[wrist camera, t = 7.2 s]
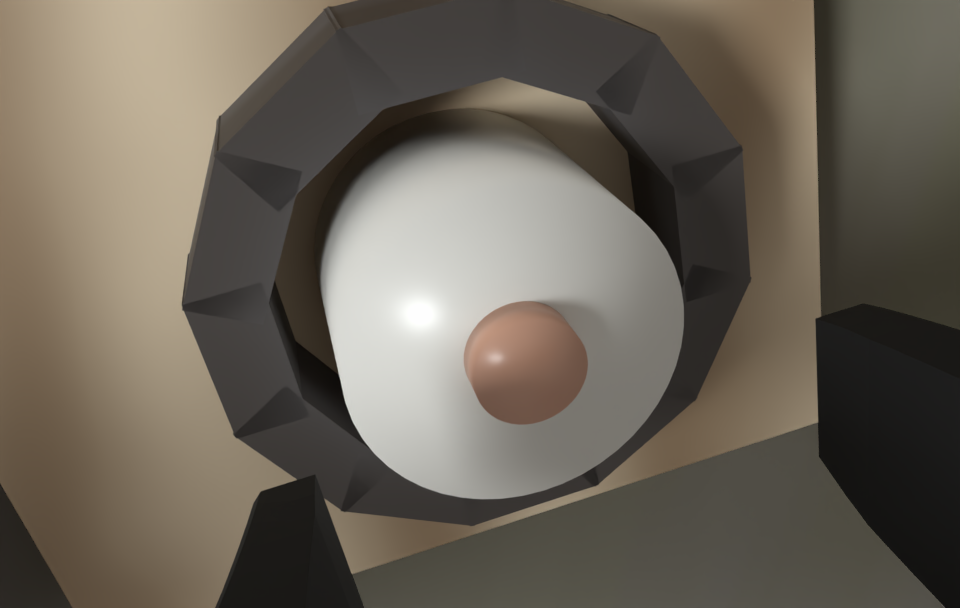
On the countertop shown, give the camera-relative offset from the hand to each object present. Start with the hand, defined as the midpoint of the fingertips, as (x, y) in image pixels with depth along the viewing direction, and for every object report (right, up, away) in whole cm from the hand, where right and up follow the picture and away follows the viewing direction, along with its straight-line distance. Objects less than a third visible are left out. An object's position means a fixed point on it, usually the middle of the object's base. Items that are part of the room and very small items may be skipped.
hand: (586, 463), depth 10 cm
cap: (-2, +3, +6) cm, 7 cm away
